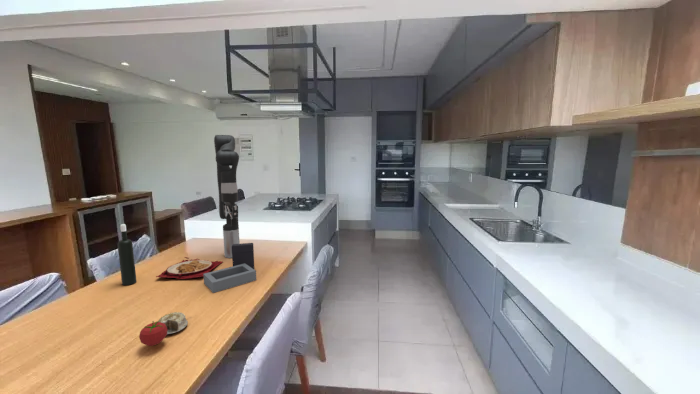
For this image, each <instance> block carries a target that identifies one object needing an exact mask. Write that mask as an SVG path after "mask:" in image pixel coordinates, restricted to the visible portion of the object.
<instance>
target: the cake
mask: <svg viewBox="0 0 700 394" xmlns="http://www.w3.org/2000/svg"><path fill="white" fill-rule="evenodd" d="M186 318H187V317H186V315H185V314H184V312H183V313H182V312H181V311H178V312H177V311H174V312H170V313H168V314H165V315H163V316H161V317H160V318H159V319H158V322H161V323H164V324H165V325H166V327H167V329H168V330H167V335H171V334H174V333H177V332H180V331H182V330H183V329H184V328H185V327H187V326H188V324H189V322H188V320H187V319H186Z"/></svg>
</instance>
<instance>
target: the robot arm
mask: <svg viewBox="0 0 700 394" xmlns="http://www.w3.org/2000/svg"><path fill="white" fill-rule="evenodd" d="M213 142H214V143H213V144H214V150H215V162H216V177H217V188H218V213H219V218H220V219H221V220H226V223H225V224H223V225H222V236H223V250H224V251H223V252H224V253H223V255H224V257H225V258H228V259H232V245H233V244H241V243H240V228H239V205H238V204H237V203H236V202H238V201H239V196H238V195H239V194H238V191H239V190H238V184H237V169H238V166H239V165H238V164H239V160H240V156H239V153H238V152H236V151H235V149H236V141H235V137H234V136H233V135H231V134H215V135H214V138H213Z"/></svg>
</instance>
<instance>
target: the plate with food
mask: <svg viewBox="0 0 700 394" xmlns="http://www.w3.org/2000/svg"><path fill="white" fill-rule="evenodd" d="M184 258H185V260H184V259H183V260H181V261H180V262H177V263H175V264H172V265H170V266H168V267H167V268H166V270H164V271H163V272H161V273H160V274H159V275H156V276H155V277H156V278H162V279H163V278H167V279H169V278H170V279H172V278H175V279H176V280H184V279H185V280H187V279H195V278H201V277H203V278H204V276H203V274H204V273H208V272H212V270H213V269H215V268H217V266H219V265H220V264H222V263H224V261H221V260H220V261H218V260H216V261H211V260H209V259H208V260H206V259H199V258H194V259H190V257H186V256H184Z"/></svg>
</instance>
